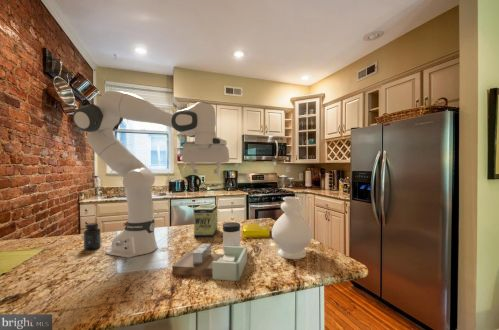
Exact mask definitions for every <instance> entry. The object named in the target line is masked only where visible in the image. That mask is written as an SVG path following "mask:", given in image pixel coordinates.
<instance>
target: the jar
mask: <svg viewBox="0 0 499 330" xmlns="http://www.w3.org/2000/svg"><path fill="white" fill-rule="evenodd" d="M222 243H223V244H222V249H223V250H222V251H223V252H224V246H236V247H241V224H240V223H239V222H234V221H233V222H231V221H229V222H225V223H223V224H222Z"/></svg>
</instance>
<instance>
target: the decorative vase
mask: <svg viewBox="0 0 499 330" xmlns="http://www.w3.org/2000/svg"><path fill="white" fill-rule="evenodd" d="M282 200H283V202H282V203H281V204H280V210H282V211H283V213H282V215H280V216H279V217H278V219H277V220H275V222H274V224H273V226H272V229H271V237H272V239H273V241H274V243H275V244H276V245H277V246H278V247H279V249H278V250H277V255H278V256H280V257H281V258H283V259H288V260H300V259H304V258H306V256H307V252H306V250H305V249H306V248H307V247H308V245H309V244H310V242H311V241H312V238H313V231H312V227H311V225H310V224H309V222H307V220H306V219H305V218H304V217H303V215H301V214H300V211H302V209H303V206H302V203H301V202H299V201H301V200H300V197H298V196H284V197H282Z"/></svg>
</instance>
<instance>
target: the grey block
mask: <svg viewBox="0 0 499 330" xmlns="http://www.w3.org/2000/svg"><path fill="white" fill-rule="evenodd" d="M192 253H193V265H203V263H204V262H205V261H206V260H207V259H208V258H209V256H210V255H211V254H212V244H211V243H201V245H200V246H198V247H197V248H196V249H195V250H193V252H192Z"/></svg>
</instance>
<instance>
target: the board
mask: <svg viewBox="0 0 499 330" xmlns="http://www.w3.org/2000/svg"><path fill="white" fill-rule="evenodd" d="M223 256H224V253H221V254H220V253H211V255H210V256H209V258H208V259H207V260H206V261H205V262H204V263H203V265H193V252H186V254H184V255H183V256H182V257H181V258H180V259H179V260H177V261H176V262H175V263H174V264H173V265H172V269H171V270H172V271H171V272H172V275H180V276H195V277H206V278H207V277H208V278H213V273H212V262H213V261H217V260H218V259H219V258H220V257H221V258H222V257H223Z"/></svg>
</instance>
